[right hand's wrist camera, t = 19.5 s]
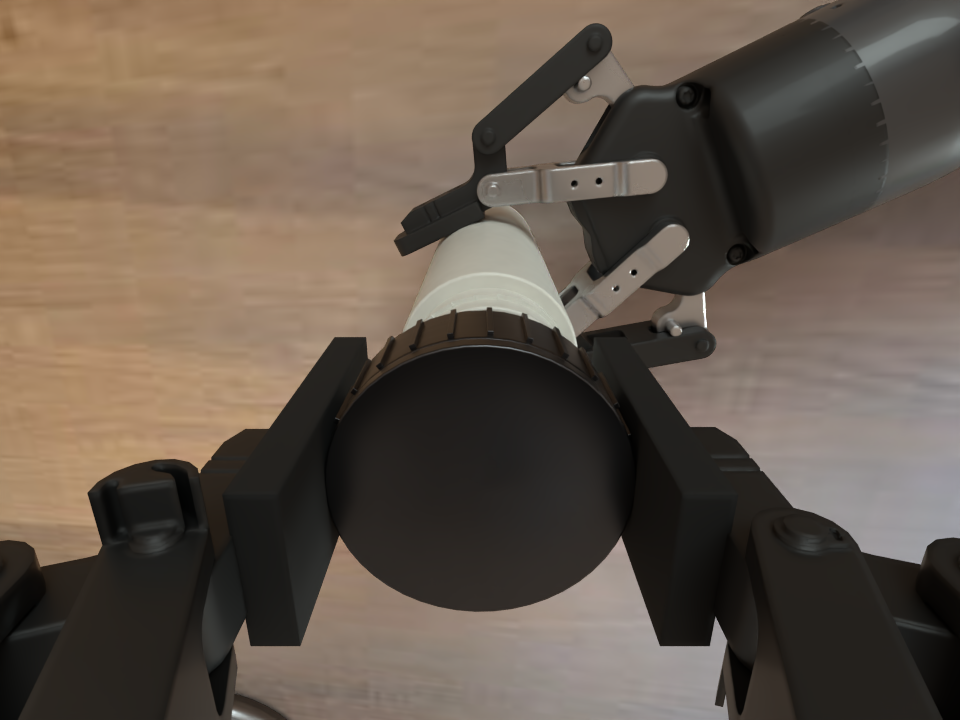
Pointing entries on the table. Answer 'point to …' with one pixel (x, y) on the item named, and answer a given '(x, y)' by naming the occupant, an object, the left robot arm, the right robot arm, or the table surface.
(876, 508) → the table surface
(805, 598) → the right robot arm
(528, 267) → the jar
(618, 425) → the lid
